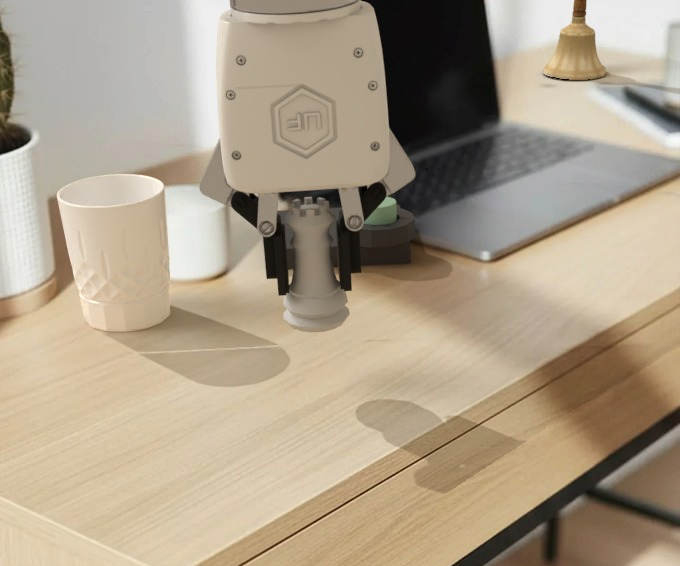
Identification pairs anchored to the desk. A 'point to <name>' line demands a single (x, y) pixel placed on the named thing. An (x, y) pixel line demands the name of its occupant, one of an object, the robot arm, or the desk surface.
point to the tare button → (384, 213)
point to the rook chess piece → (313, 270)
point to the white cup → (118, 249)
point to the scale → (370, 240)
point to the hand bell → (576, 50)
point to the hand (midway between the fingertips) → (314, 282)
